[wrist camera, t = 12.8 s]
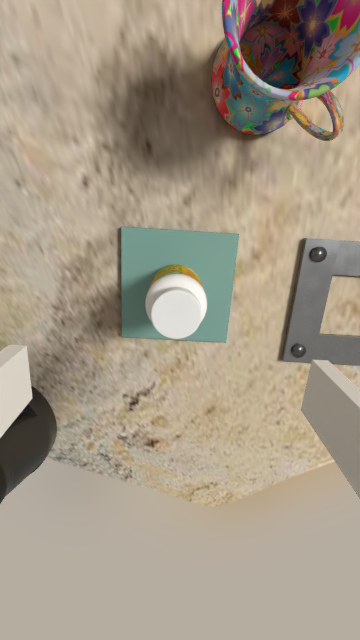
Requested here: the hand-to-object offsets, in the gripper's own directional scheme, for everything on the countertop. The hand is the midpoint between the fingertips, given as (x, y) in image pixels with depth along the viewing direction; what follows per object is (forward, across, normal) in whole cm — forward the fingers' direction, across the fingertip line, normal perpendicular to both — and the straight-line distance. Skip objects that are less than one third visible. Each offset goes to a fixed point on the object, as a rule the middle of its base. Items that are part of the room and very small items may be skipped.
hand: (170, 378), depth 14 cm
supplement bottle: (+19, 0, 0) cm, 19 cm away
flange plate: (+20, -20, +1) cm, 28 cm away
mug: (+20, -7, -18) cm, 28 cm away
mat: (+20, 0, 0) cm, 20 cm away
